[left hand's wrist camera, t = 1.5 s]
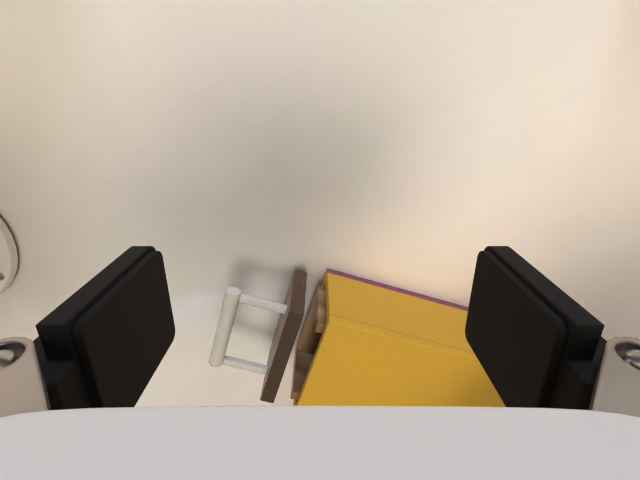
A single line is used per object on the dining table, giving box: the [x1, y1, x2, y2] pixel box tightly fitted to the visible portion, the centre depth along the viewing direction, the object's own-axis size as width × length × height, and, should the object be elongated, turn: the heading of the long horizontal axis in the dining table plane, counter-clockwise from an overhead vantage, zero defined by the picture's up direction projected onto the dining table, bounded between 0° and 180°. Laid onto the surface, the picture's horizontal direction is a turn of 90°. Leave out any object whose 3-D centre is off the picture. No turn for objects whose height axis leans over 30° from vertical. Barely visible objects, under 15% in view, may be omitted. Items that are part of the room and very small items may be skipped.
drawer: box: [209, 270, 326, 403], centre depth 35 cm, size 22×10×7 cm, turn 73°
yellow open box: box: [293, 269, 506, 407], centre depth 35 cm, size 18×11×9 cm, turn 73°
